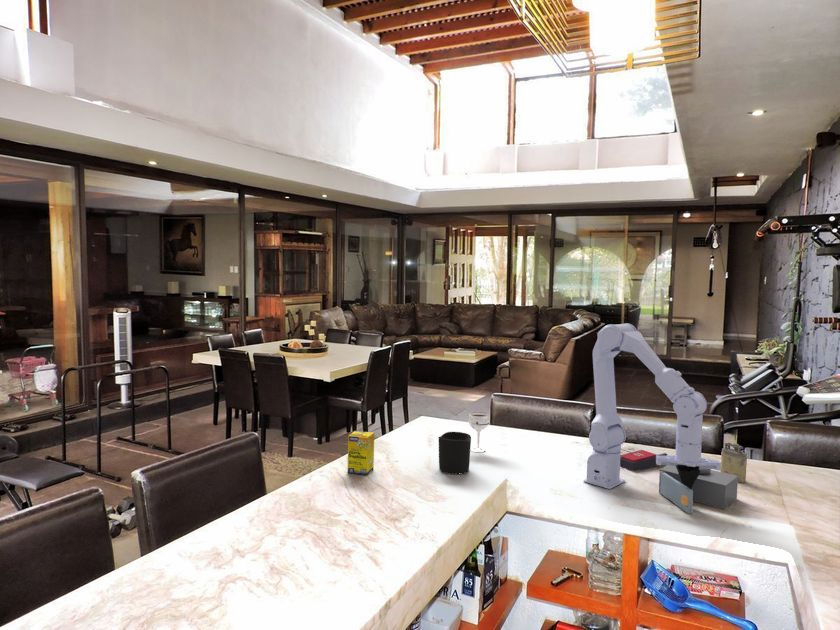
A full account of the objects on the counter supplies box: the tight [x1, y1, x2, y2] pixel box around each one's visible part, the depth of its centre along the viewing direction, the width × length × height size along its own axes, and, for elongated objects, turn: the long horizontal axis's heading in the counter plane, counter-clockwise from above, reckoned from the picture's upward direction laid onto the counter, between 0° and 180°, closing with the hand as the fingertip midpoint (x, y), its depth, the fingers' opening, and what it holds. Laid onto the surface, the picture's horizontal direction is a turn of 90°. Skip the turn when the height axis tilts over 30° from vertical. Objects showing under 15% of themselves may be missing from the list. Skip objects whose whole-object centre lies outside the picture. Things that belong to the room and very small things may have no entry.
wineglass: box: [468, 411, 490, 451], centre depth 184 cm, size 7×7×12 cm
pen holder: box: [438, 431, 472, 475], centre depth 165 cm, size 9×9×10 cm
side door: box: [658, 470, 694, 514], centre depth 142 cm, size 2×14×6 cm, turn 5°
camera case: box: [659, 465, 739, 510], centre depth 148 cm, size 10×16×7 cm, turn 46°
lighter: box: [719, 442, 748, 484], centre depth 161 cm, size 7×4×10 cm, turn 28°
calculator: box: [620, 444, 668, 472], centre depth 175 cm, size 11×4×15 cm
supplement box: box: [347, 430, 375, 476], centre depth 161 cm, size 6×6×11 cm
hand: (686, 495), depth 141 cm, fingers closed
